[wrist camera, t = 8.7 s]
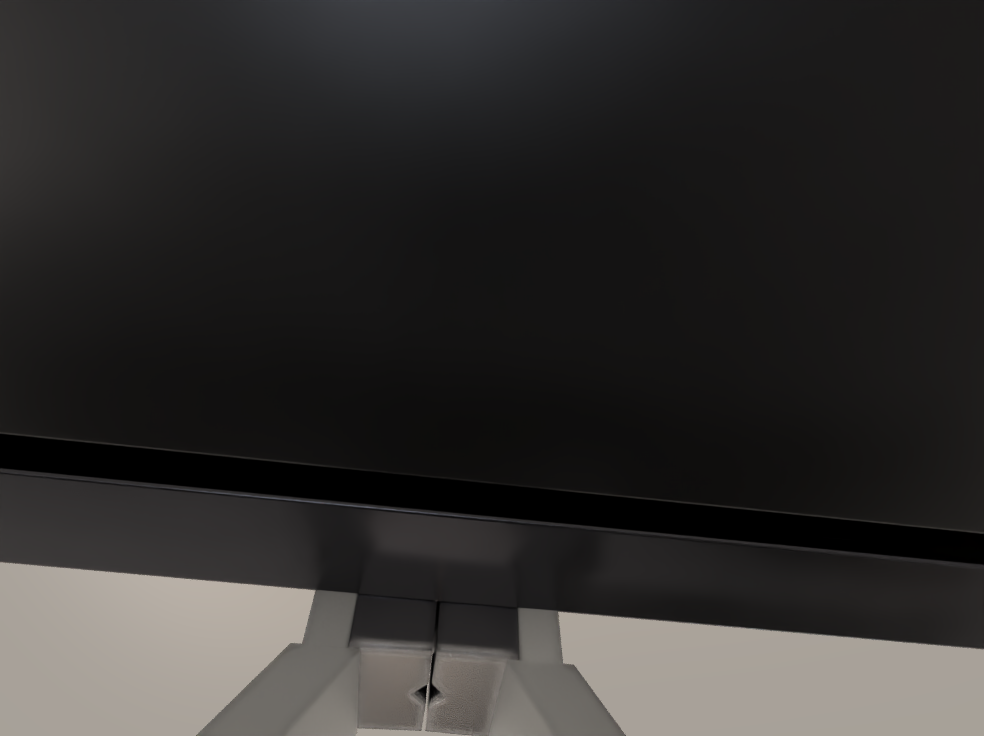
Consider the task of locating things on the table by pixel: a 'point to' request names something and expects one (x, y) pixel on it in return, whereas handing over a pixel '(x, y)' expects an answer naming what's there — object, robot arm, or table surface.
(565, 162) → the oven
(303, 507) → the oven door
